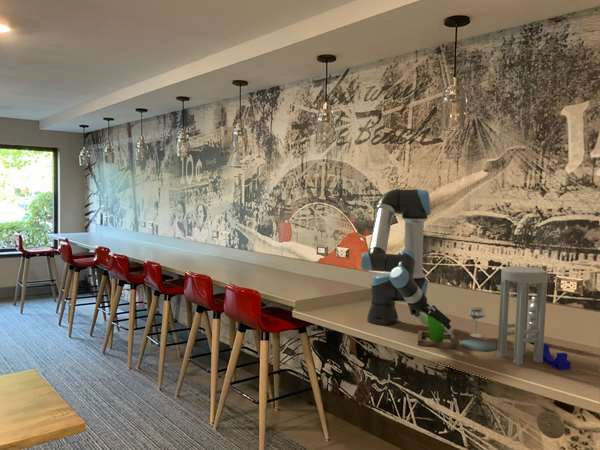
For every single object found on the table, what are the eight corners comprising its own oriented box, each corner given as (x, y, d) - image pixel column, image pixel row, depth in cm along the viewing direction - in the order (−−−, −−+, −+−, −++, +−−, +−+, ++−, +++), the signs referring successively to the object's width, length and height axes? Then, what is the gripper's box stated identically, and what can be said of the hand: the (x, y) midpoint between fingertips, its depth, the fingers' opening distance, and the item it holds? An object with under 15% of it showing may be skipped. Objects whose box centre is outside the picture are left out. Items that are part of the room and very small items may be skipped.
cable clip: (570, 369, 178) (571, 353, 178) (558, 370, 178) (559, 354, 177) (549, 358, 190) (549, 343, 190) (538, 358, 190) (539, 343, 189)
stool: (489, 353, 194) (493, 266, 192) (522, 350, 198) (526, 265, 196) (516, 367, 179) (521, 273, 177) (551, 364, 184) (556, 271, 181)
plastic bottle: (541, 341, 212) (543, 295, 210) (543, 345, 205) (546, 299, 204) (524, 339, 214) (527, 294, 212) (526, 344, 207) (529, 297, 206)
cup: (448, 345, 203) (449, 319, 203) (425, 343, 205) (426, 318, 204) (446, 339, 212) (447, 314, 211) (424, 337, 214) (425, 312, 213)
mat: (453, 341, 208) (453, 340, 208) (481, 339, 213) (481, 338, 213) (474, 352, 195) (474, 351, 195) (503, 349, 199) (503, 348, 199)
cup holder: (417, 344, 203) (417, 340, 203) (418, 334, 218) (418, 330, 218) (455, 348, 199) (455, 343, 199) (453, 338, 214) (454, 333, 214)
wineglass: (484, 334, 220) (485, 308, 219) (483, 338, 214) (484, 311, 213) (468, 332, 223) (470, 306, 222) (467, 336, 217) (468, 309, 216)
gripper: (388, 298, 209) (412, 327, 218) (433, 310, 188) (457, 343, 197) (398, 284, 211) (421, 314, 220) (443, 295, 190) (467, 328, 199)
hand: (438, 328), depth 208 cm, fingers open, 13 cm apart
